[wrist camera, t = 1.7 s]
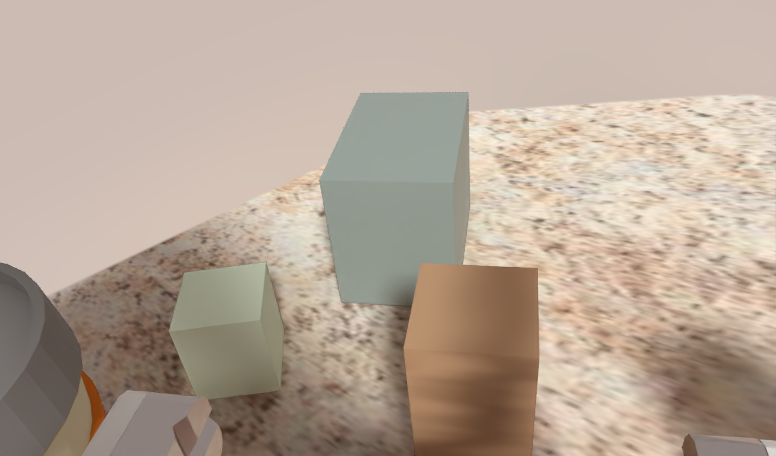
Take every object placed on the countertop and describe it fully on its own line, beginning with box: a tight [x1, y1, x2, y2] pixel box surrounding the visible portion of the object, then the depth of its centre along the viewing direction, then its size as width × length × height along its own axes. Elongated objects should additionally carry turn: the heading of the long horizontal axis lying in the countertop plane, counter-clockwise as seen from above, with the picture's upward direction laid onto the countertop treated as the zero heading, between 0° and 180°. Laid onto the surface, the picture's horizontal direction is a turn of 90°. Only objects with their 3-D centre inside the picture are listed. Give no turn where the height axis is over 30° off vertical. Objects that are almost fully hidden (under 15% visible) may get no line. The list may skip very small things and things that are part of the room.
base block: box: [319, 92, 470, 306], centre depth 45 cm, size 8×12×10 cm, turn 170°
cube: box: [169, 262, 284, 400], centre depth 38 cm, size 5×5×6 cm
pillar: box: [403, 263, 539, 456], centre depth 29 cm, size 5×5×12 cm
